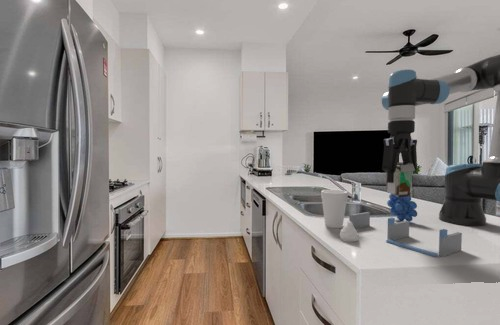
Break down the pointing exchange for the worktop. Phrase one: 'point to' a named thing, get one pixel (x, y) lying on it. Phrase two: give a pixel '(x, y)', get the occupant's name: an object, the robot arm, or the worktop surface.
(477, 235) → the worktop surface
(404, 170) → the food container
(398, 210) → the grapes
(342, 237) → the garlic bulb
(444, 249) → the blue-edged channel bracket
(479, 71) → the robot arm
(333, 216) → the foam cup
